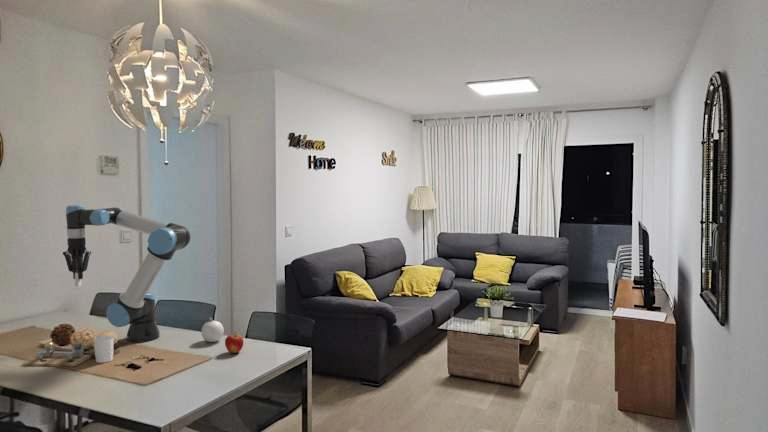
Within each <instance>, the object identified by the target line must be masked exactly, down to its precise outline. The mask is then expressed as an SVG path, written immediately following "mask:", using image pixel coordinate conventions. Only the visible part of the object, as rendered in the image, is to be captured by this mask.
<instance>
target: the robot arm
mask: <svg viewBox="0 0 768 432" xmlns="http://www.w3.org/2000/svg"><path fill="white" fill-rule="evenodd" d="M65 217H66V218H65V219H66V235H67V236H66V237H67V238H66V239H67V250H65V251H63V252H62V255H63V256H64V258H65V261H66V265H67V269H68V272H72V275H73V278H72V279H73V280H74V285H75V286H74V287H81V286H82V285H83V284H82V283H83V282H82V280H83V279H84V272H86V271H87V270H88V266H89V260H90V256H91V254H92V251H90V250H87V247H86V245H87V244H86V237H85V236H86V226H97V227H100V226H106V225H107V224H113V225H116V226H119V227H123V228H126V229H129V230H133V231H136V232H140V233H142V234H146V235H149V236H148V239H147V243H148V245H147V248H146V251H147V254H146V256H145V258H144V259H143V262H141V265H140V267H139V268H138V270H137V271H136V273H135V275H134V277H133V279H132V280H131V281H130V283H129V285H128V286H127V289H126V290H125V292H121V293H120V295H119V296H118V297H117V299H116V300H115V302H113V303H111V304H109V305H108V306H107V308H106V312H105V313H106V315H105V316H106V317H107V321H108V323H110V325H112V326H113V327H115V328H123V327H126V326H128V325H129V327H128V330H127V334H126V341H128V342H131V343H143V342H144V343H145V342H149V341H154V340H157V339H159V338H160V334H161V333H160V329H159V327H158V324H157V322H156V297H155V294H154V293H153V292H149V290H150V288H151V287H152V285H153V284H154V282H155V280H156V278H157V277H158V275H159V273H160V272H161V270H162V269H163V267H164V265H165V263H166V262H168V261H170V260H171V259H172V258H173V257H174V256H175V253H176V252H177V251H181V250H182V249H185V248H186V247H187V246H188V245H189V243H190V241H191V233H190V231H189V229H188V228H187V227H185V226H183V225H180V224H176V223H173V222H169V223H165V222H164V221H163V222H162V221H158V220H155V219H153V218H150V217H145V216H142V215H139V214H135V213H131V212H128V211H125V210H123V208H121V207H115V206H114V207H107V208H97V209H85V206H84V205H83V204H74V205H73V204H71V205H67V206H66V209H65Z"/></svg>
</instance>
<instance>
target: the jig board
mask: <svg viewBox="0 0 768 432" xmlns="http://www.w3.org/2000/svg"><path fill="white" fill-rule="evenodd" d="M89 355H90V354H84V355H83V357H81V358H72V361H69V358H60V357H42V360H40V357H36V356H35V357H33V358H30V359H29V360H27V361H24V362H23V363H22V366H23V367H25V366H27V367H28V366H29V367H73V366H75V367H76V366H78V365H80V364H82V363H83V362H86V361H87V360H89V359H90V358H91V357H90V356H89Z"/></svg>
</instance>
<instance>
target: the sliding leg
mask: <svg viewBox="0 0 768 432" xmlns="http://www.w3.org/2000/svg"><path fill="white" fill-rule="evenodd" d="M55 347H56V346H53V342H52V341H49V342H45V343H44V348H43V350H41V352H39V351H38V352H39V353H38V355H39V356H40V360H42V355H43V357H51V353H50V352H53V351H55V352H56V350H55V349H56V348H55Z"/></svg>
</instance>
